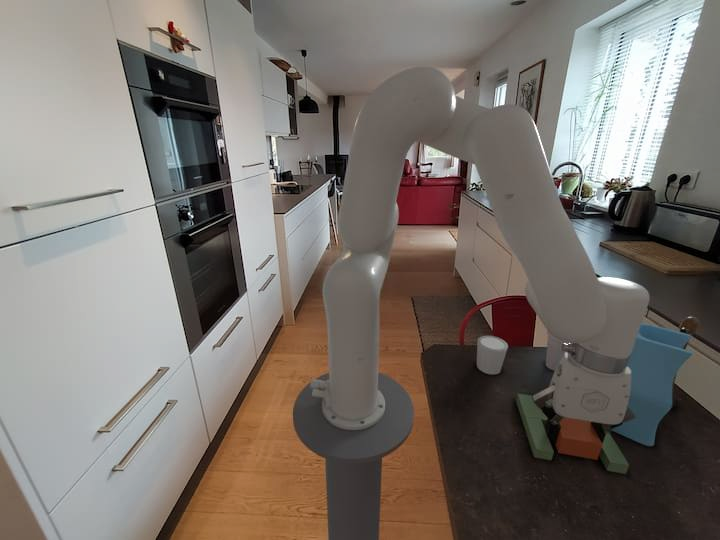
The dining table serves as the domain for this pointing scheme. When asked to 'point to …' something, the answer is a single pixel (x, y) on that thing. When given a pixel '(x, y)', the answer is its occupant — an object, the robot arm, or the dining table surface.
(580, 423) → the orange block
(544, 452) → the green flat bent piece
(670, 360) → the vase
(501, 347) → the shot glass
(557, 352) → the smoothie
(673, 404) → the wooden tabletop sculpture
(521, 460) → the dining table surface
